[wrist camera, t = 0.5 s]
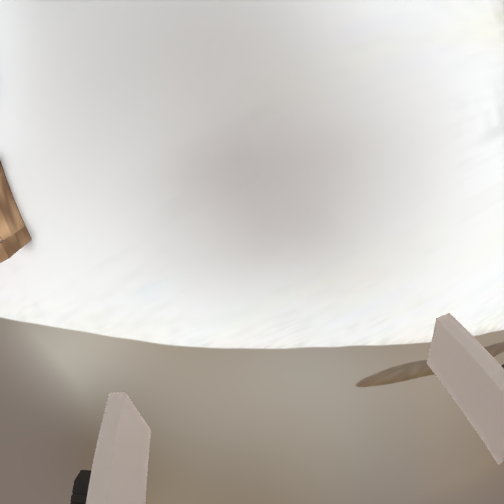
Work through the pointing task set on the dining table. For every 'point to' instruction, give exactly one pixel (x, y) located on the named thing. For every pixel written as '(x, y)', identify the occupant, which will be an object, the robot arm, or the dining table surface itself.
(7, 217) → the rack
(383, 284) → the dining table surface
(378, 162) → the dining table surface
